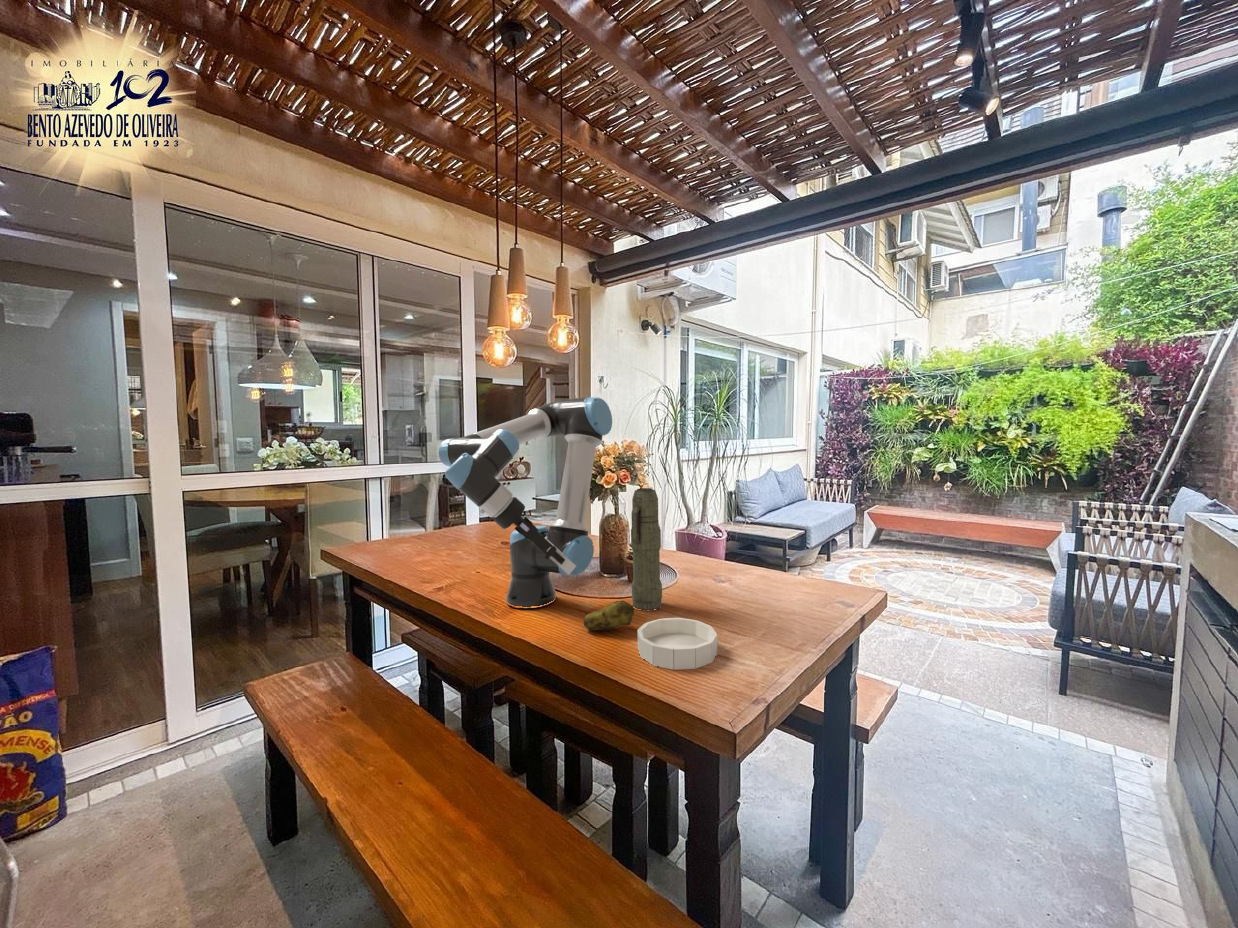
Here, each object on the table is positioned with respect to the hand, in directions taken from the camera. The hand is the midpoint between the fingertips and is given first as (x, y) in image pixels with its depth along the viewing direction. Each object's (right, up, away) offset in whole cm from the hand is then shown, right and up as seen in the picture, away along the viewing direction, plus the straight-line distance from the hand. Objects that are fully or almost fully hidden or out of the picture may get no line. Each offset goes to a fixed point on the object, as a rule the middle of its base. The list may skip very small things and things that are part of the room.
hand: (565, 563), depth 122 cm
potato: (+11, -19, +5) cm, 22 cm away
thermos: (+22, -18, +23) cm, 36 cm away
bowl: (+27, -19, -8) cm, 34 cm away
